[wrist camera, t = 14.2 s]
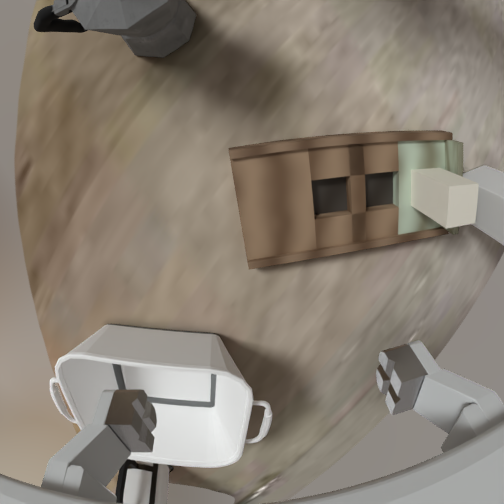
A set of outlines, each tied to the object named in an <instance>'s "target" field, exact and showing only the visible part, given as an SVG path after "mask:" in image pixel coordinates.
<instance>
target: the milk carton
mask: <svg viewBox="0 0 504 504" xmlns="http://www.w3.org/2000/svg"><path fill="white" fill-rule="evenodd" d="M463 177H464V178H467V179H469V180H471V181H474V182H476V183H478V184H479V188H478V201H477V211H476V220H475V223H474V224H471V225H473V226H475V227H476V228H478V229H479V230H481V231H482V232H484V233H485V234H487V235H489V236H490V237H492V238H493V239H495V240H496V241H498V242H499V243H501V244H502V245H504V172H502V171H499V170H497V169H494V168H491V167H488V166H486V165H484V166H481V167H479V168H476V169H474V170H471V171H468V172H466V173H463Z"/></svg>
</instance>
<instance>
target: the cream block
mask: <svg viewBox="0 0 504 504" xmlns="http://www.w3.org/2000/svg"><path fill="white" fill-rule="evenodd" d="M478 188H479V184H478V183H476V182H474V181H471V180H469V179H467V178H464V177H462V176H459V175H457V174H454V173H452V172H449V171H447V170H444V169H442V168H428V169H415V170H411V206H412V207H414V208H415V209H417V210H419V211H420V212H422V213H423V214H425V215H426V216H428V217H429V218H431V219H433V220H434V221H436V222H437V223H439V224H440V225H442V226H443V227H445V228H446V229H447V228H452V227H457V226H463V225H468V224H474V223H475V220H476V211H477V201H478Z"/></svg>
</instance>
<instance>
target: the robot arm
mask: <svg viewBox="0 0 504 504" xmlns="http://www.w3.org/2000/svg"><path fill="white" fill-rule="evenodd" d="M379 361H380V363H381V364H380V365H379V366H378V367H377V372H376V378H377V384H378V387H379V389H380V391H381V393H383V394H385V395H387V397H386V401H385V402H386V404H387V406H388V408H389V410H390V413H391V415H394V414H398V413H401V412H404V411H407V410H410V409H413V410H414V411H416V412H417V413H419V414H420V415H421V416H423V417H424V418H426V419H427V420H429V421H430V422H432V423H433V424H435V425H436V426H438V427H439V428H441V429H442V430H444V431H445V432H447V433H448V434H449V435H448V436H447V438H446V440H445V441H444V443H443V444H442V447H441V449H442V451H443V453H442V454H440V455H438V456H435V457H434V458H431V459H429V460H426V461H424V462H421V463H419V464H417V465H414V466H412V467H409V468H406V469H404V470H401V471H398V472H396V473H393V474H390V475H387V476H384V477H381V478H378V479H375V480H372V481H368V482H365V483H362V484H358V485H355V486H351V487H347V488H344V489H340V490H336V491H332V492H327V493H323V494H318V495H313V496H308V497H303V498H298V499H292V500H286V501H279V502H272V503H264V504H504V404H503V402H502V401H501V399H500V398H499V396H498V395H497V393H496V392H495V391H493V390H491V389H488V388H486V387H484V386H482V385H480V384H478V383H475V382H473V381H471V380H469V379H467V378H464V377H462V376H460V375H458V374H455V373H453V372H451V371H449V370H447V369H442V370H441V368H440V367H439V366H438V364H437V363H436V361H435V360H434V358H433V357H432V356H431V354H430V353H429V351H428V350H427V349H426V347H425V346H424V344H423V343H422V342H421V341H420V340H417V341H414V342H411V343H407V344H404V345H400V346H397V347H394V348H390V349H387V350H384V351H381V352H380V354H379ZM156 424H157V417H156V411H155V408H154V406H153V404H152V403H150V402H149V401H147V394H146V393H145V391H144V390H141V389H134V390H104V391H103V392H102V393H101V396H100V399H99V402H98V405H97V408H96V412H95V415H94V418H93V421H92V424H88V425H87V426H86V427H85V428H83V429H82V430H81V431H80V432H79V433H78V434H77V435H76V436H75V437H74V438H73V439H71V440H70V441H69V442H68V443H67V444H66V445H65V446H64V447H63V448H62V449H61V450H59V451H58V452H57V453H56V454H55V455H54V456H53V457H52V458H51V459H50V460H49V462H48V465H47V469H46V472H45V475H44V478H43V482H42V485H41V487H39V486H35V485H32V484H29V483H26V482H22V481H19V480H16V479H13V478H11V477H8V476H5V475H2V474H0V504H123V503H116V500H117V497H116V495H115V494H114V493H112V492H111V491H110V490H108V489H107V488H106V486H107V485H108V483H109V482H110V481H111V479H112V478H113V477H114V476H115V474H116V473H117V472H118V470H119V469H120V468H121V467H122V465H123V464H124V463H125V461H126V460H127V459H128V457H129V456H130V455H131V452H153V445H154V438H155V437H154V436H153V434H152V433H151V432H152V431H153V430H154V429H155V428H156Z"/></svg>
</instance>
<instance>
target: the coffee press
mask: <svg viewBox="0 0 504 504" xmlns="http://www.w3.org/2000/svg"><path fill="white" fill-rule="evenodd" d="M169 468H170V469H171V471H172V470H173V467H172V466H167V465H166V464H157V463H150V462H143V461H136V460H130V459H127V460H126V461H125V463H124V464H123V465H122V467H121V468H120V470H119V475H118V481H117V487H116V497H117V500H116V503H123V504H167V497H168V483H169V473H170V472H171V471H170V472H169Z"/></svg>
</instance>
